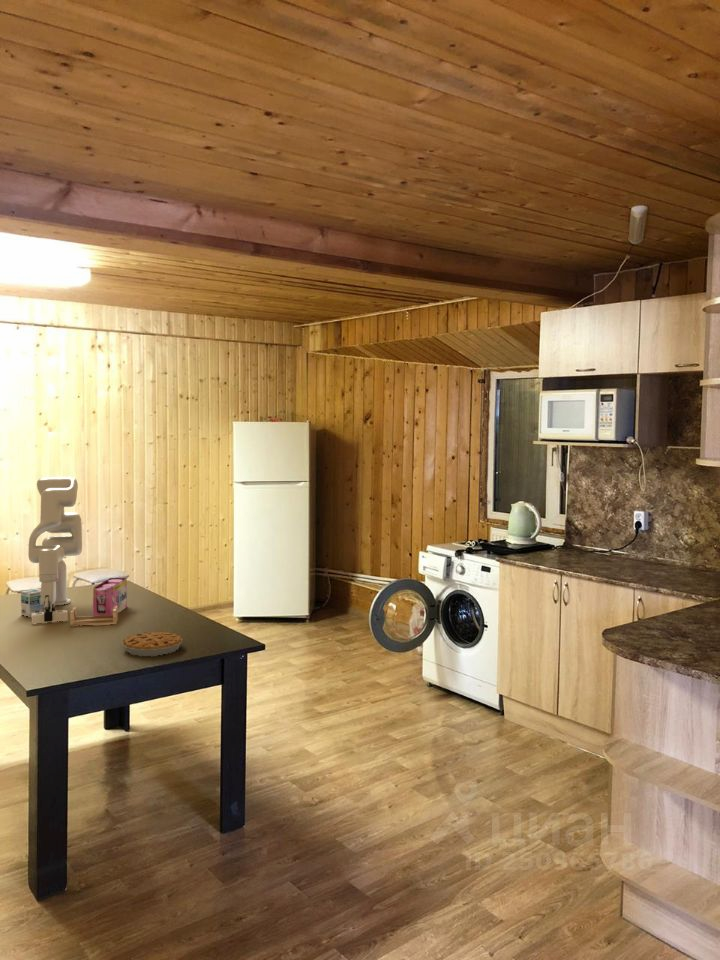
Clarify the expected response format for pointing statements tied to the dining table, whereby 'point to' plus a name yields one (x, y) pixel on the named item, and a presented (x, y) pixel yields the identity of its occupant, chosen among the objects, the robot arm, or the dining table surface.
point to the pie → (152, 643)
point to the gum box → (109, 596)
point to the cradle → (93, 618)
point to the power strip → (56, 616)
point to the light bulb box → (31, 602)
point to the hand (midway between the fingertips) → (49, 618)
